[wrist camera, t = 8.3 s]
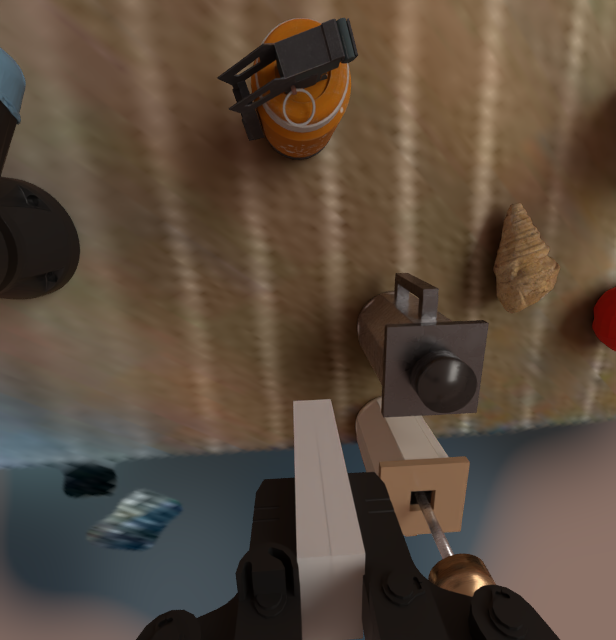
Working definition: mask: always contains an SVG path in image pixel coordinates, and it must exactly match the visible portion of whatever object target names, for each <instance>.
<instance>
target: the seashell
mask: <svg viewBox="0 0 616 640" xmlns="http://www.w3.org/2000/svg"><path fill="white" fill-rule="evenodd" d="M503 224H504V226H503V230H502V239H501V242H500V245H499V249H498V250H497V257H496V260H495V265H494V267H493V271H494V274H495V275H496V282H497V287H496V289H497V295H496V296H497V298H498V299H499V301H500V302H501V304H502V305H503V307H504V308H505V310H506V311H508V312H510V313H515V312H518V311H521V310H523V309H524V308H526V307H528V306H530V305H532V304H534V303H536V302H538V301H539V300H541V299H542V298H543V297H544V296H545V295H546V294H547V293H549V292H550V291H551V290H552V289H553V287H554V284H555V283H556V280H557V278H556V277H557V276H558V272H559V271H560V265H559V264H558V263H556V261H555V260H554V259H553V258H551V257H549V256H547V255H548V253H549V250H550V248H549V246H546V245H545V242H544V241H542V240H541V239H540V232H539V231H538V230H537V228H536V227H535V226H534V225H533V224H532V220H531V218H530V217H529V216H528V215H527V212H526V210H525V209H524V208H523V206H522V205H521V204H520V203H517V204H512V205H511V206H510V208H509V209H508V211H507V215H506V217H505V219H504V222H503Z"/></svg>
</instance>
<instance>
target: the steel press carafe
mask: <svg viewBox="0 0 616 640" xmlns="http://www.w3.org/2000/svg"><path fill="white" fill-rule="evenodd" d="M438 290H439V289H438V288H436V287H434V286H432V285H430V284H428V283H426V282H424V281H422V280H420V279H418V278H417V277H415V276H413V275H411V274H409V273H396V276H395V291H389V292H384V293H381V294H379V295H377V296H375V297H373V298H372V299H371V300H369V301H368V302H367V303H366V304H365V306H364V307H363V308H362V310H361V312H360V314H359V317H358V321H357V333H358V337H359V344H360V346H361V347H362V349H363V351H364V353H365V355H366V357H367V359H368V360H369V362H370V364H371V366H372V368H373V370H374V372H375V373H376V375H377V377H378V379H379V381H380V383H381V385H382V403H381V413H382V416H383V418H385V417H404V416H423V415H441V414H460V413H476V412H477V405H478V398H479V390H480V383H481V375H482V368H483V361H484V353H485V346H486V338H487V331H488V324H489V323H487V322H486V321H484V320H476V321H451V320H450V319H448V318H447V317H445V316H444V315H442V314H441V313H439V312H438V311H437V306H438ZM409 292H411V293H412V294H414V295H415V296H417V297H418V298H419V299H418V298H417V297H415V296H414V295H412V294H411V293H409ZM439 350H443V351H449V352H451V353H453V354H455V355H456V356H457V357H459V358H460V359H461V360H462V361H463V362H465V363H466V364H467V365H468V366H469V367H470V368H471V369H472V370H473V371H474V373H475V375H476V378H477V388H476V392H475V394H474V396H473V398H472V399H471V400H470V402H469V403H468V404H467V405H465V406H464V407H463V408H461V409H459V410H457V411H454V412H451V413H437V412H434V411H432V410H430V409H429V408H427V407H426V406H425V405H424V403H423V402H422V401H421V399H420V398H419V396H418V395H417V394H416V392H415V391H414V389H413V387H412V385H411V372H412V369H413V367H414V365H415V364H416V362H417V361H418V360H419V359H420V358H421V357H423V356H424V355H426V354H428V353H430V352H433V351H439Z"/></svg>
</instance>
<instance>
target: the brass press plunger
mask: <svg viewBox="0 0 616 640" xmlns="http://www.w3.org/2000/svg"><path fill="white" fill-rule="evenodd" d="M431 492H432V490H427V491H411V498H410V501H414V500H417V502H418V504H419V506H420V509H421V511H422V513H423V515H424V518H425V520H426V522H427V524H428V527H429V529H430V531H431V533H432V536H433V538H434V540H435V542H436V545H437V547H438V549H439V551H440V554H441V555H442V558H443V559H442V560H441V561H439V562H438V563H437V564H436V565H435V566H434V567H433V568H432V570H431V571H430V574H429V578H428V580H429V581H430V582H432V583H433V584H435V585H436V586H438V587H441V588H443V589H446V590H449V591H453V592H456V593H460V594H464V595H468V596H471V597H473V595H474V592H475V591H476V590H477V589H479V588H480V587H481V586H484V585H492V584H494V585H496V584H495V582H494V580H493V578H492V577H491V575H490V573H489V571H488V569H487V568H486V566H485V564H484V563H483V561H482V560H481V559H480V558H478V557H476V556H473V555H470V554H455V555H454V554H453V552H452V549H451V547H450V545H449V543H448V541H447V539H446V537H445V535H444V533H443V531H442V529H441V527H440V525H439V522H438V520H437V518H436V516H435V514H434V512H433V510H432V508H431V506H430V504H429V502H428V500H427V498H426V496H427V495H428V494H430V493H431Z"/></svg>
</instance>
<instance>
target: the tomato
mask: <svg viewBox="0 0 616 640" xmlns="http://www.w3.org/2000/svg"><path fill="white" fill-rule="evenodd" d="M592 328H593V330H594V332H595V334H596V336H597V337H598V339H599V340H600V341H601V342H603V343H604V344H605V345H606V346H608V347H609V348H611V349H612V350H614V351H616V287H614V288H612V289H610V290H608V291H606V292H605V293H604V294H603V295H602V296H601V297H600V298H599V299H598V301H597V303H596V305H595V306H594V321H593V323H592Z"/></svg>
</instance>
